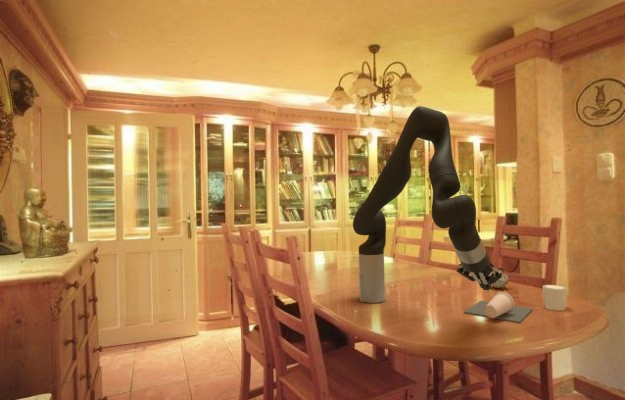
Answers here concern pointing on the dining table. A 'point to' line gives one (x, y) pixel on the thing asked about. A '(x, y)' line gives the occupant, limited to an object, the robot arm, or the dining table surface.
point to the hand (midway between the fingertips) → (486, 287)
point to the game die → (501, 281)
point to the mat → (514, 316)
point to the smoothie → (499, 305)
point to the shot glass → (555, 297)
